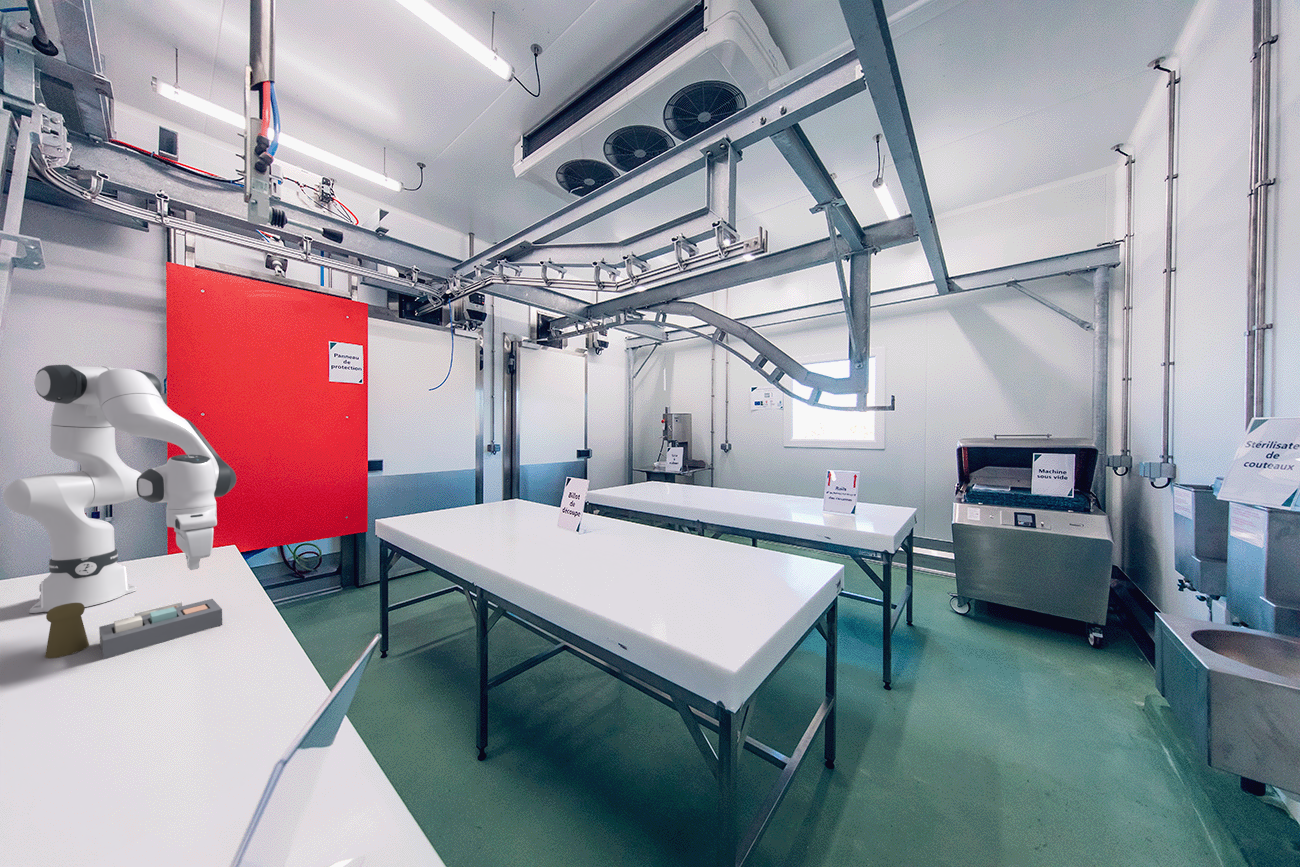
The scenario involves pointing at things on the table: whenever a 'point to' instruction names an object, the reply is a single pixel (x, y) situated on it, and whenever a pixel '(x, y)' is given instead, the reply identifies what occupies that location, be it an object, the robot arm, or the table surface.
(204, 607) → the terracotta key
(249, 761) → the table surface
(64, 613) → the cork
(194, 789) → the table surface
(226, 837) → the table surface
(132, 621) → the cream key
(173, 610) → the teal key
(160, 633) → the keypad
